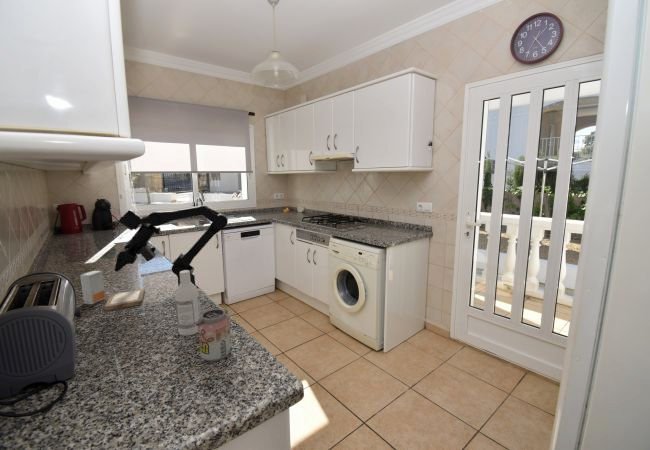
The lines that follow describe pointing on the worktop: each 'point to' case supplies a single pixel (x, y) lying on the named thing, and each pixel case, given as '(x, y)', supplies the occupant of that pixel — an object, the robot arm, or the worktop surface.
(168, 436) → the worktop surface
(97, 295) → the skincare box
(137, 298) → the wooden picture frame
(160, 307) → the worktop surface
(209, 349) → the beverage can
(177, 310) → the bath foam
